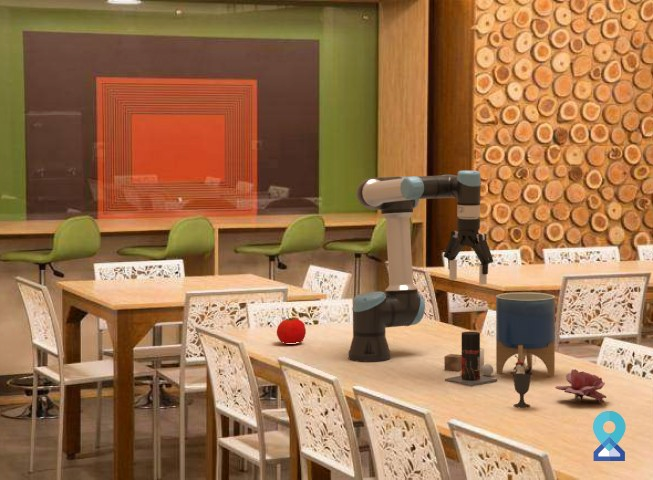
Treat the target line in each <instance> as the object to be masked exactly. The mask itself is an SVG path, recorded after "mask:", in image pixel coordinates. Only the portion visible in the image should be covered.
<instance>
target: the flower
mask: <svg viewBox="0 0 653 480" xmlns="http://www.w3.org/2000/svg"><path fill="white" fill-rule="evenodd" d="M565 379H566V381H567V382H568V383H569V384H570V385H556V386H555V387H554V388H555V389H556V390H559V391H563V392H564V393H567V394H573V395H574V399H578V398H580V401H581V402H583V398H584V397H588V398H592V399H595V400H598V403H599V405H600V404H602V402H603V401H604V402H605V400H604V398H605V399H607V395H606V394H603V393H601V392H599V391H598V390H601V389H602V388H603V387H604V386H605V384H606V382H604V381H603V379H602V377H599V376H597V375H595V374H591V373H589V372H585V371H578V370H577V369H571V370H570V373H569V372H568V373H567V374H566V376H565Z"/></svg>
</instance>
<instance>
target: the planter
mask: <svg viewBox="0 0 653 480" xmlns="http://www.w3.org/2000/svg"><path fill="white" fill-rule="evenodd" d="M495 300H496V301H495V311H496V312H495V314H496V315H495V318H496V319H495V328H496V330H495V336H496V337H495V339H496V345H495V346H496V350H495V353H496V356H495V359H496V360H495V361H496V363H495V365H496V367H495V369H496V372H495V373H496V374H498V375H499V374H500V375H503V372H504V367H505V364H506V363H507V361H508V360H509V359H510V358H511V357H514V356H516V355H517V357H518V358H519V359H517V361H518V362H519V360H520V361H521V362H522V363H524V364H525V362H526V365H527V366H528V368H529V367H531V371H532V370H533V356H534V357H536V358H538V359H540V360H541V361H542V362H543V364H544V365H545V368H546V370H547V375H548V377H555V376H556V375H555V374H556V371H555V369H556V368H555V364H556V363H555V362H556V357H555V356H556V355H555V354H556V352H555V349H556V345H555V344H556V341H555V340H556V296H555V295H553V294H551V293H544V292H543V293H542V292H527V291H526V292H525V291H523V292H520V291H519V292H506V293H499V294H496V295H495ZM525 360H526V361H525Z"/></svg>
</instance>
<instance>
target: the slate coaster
mask: <svg viewBox="0 0 653 480" xmlns="http://www.w3.org/2000/svg"><path fill="white" fill-rule="evenodd" d="M444 382H448V383H451V384H452V383H453V384H457V385H461V386H462V385H463V386H467V387H476V386H482V385H486V384H490V383H496V382H498V378H494V377H491V376H484V375H480V379H479V380H474V381H469V380H463V379H462V374H461V375H457V376H456V375H455V376H451V377H446V378H444Z"/></svg>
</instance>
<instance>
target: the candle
mask: <svg viewBox="0 0 653 480" xmlns="http://www.w3.org/2000/svg"><path fill="white" fill-rule="evenodd" d="M483 365H485V348H482V347H480V376H482V375H483V374H482V372H481V368H482V366H483Z"/></svg>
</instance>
